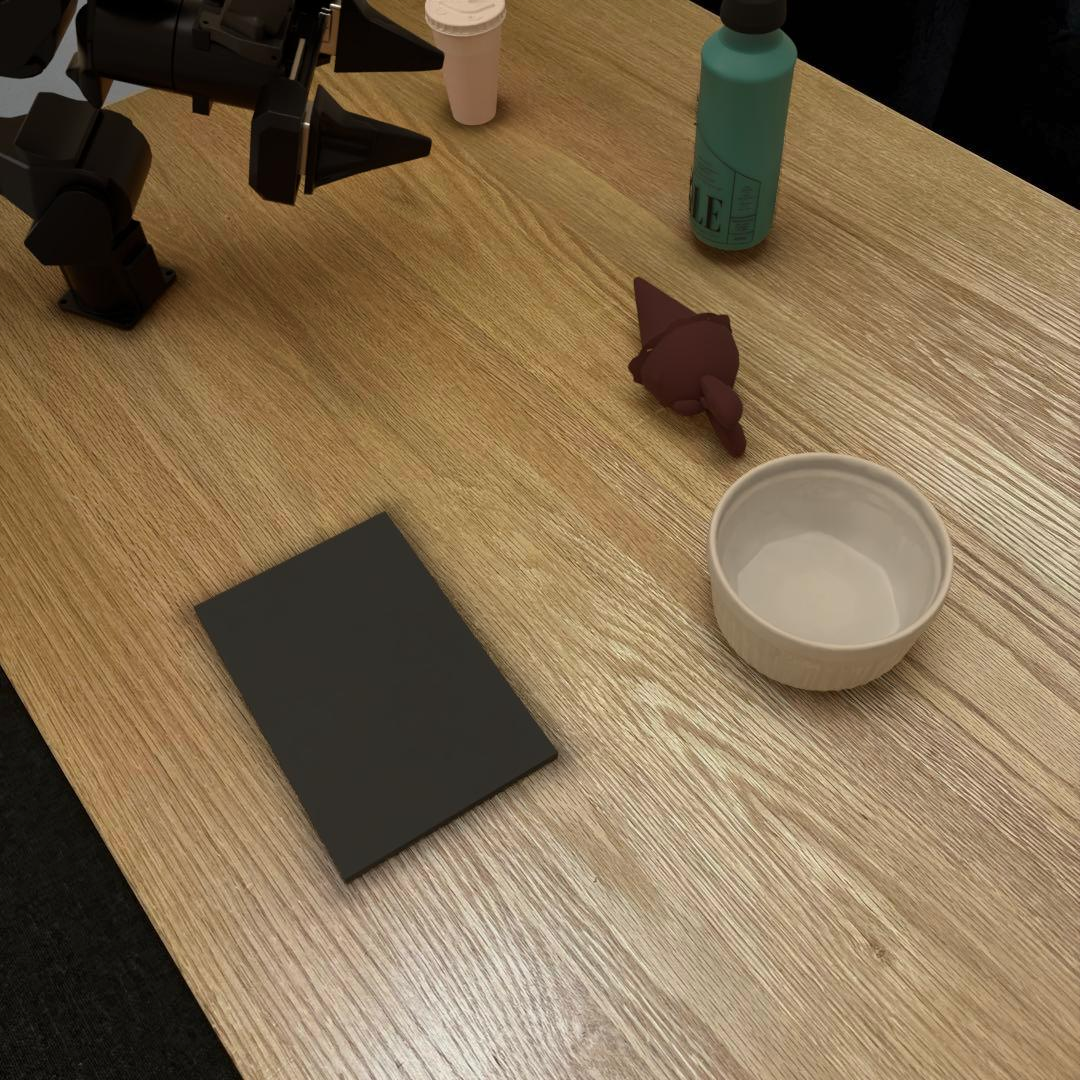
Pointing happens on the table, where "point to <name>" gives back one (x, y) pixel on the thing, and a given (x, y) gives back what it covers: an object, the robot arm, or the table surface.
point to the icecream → (689, 363)
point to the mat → (372, 693)
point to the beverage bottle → (741, 124)
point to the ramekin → (826, 569)
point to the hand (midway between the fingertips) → (437, 102)
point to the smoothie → (469, 54)
